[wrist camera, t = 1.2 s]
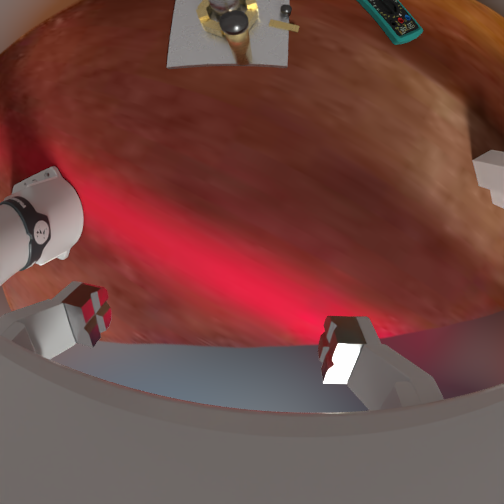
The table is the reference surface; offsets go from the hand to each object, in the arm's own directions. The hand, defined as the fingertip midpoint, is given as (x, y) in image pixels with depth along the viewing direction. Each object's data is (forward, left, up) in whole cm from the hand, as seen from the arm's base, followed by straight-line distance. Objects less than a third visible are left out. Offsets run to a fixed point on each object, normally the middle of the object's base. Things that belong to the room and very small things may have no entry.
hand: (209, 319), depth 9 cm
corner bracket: (+48, +9, -34) cm, 60 cm away
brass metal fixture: (-4, +25, -33) cm, 41 cm away
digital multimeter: (+20, +35, -35) cm, 53 cm away
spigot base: (-5, +28, -34) cm, 44 cm away
